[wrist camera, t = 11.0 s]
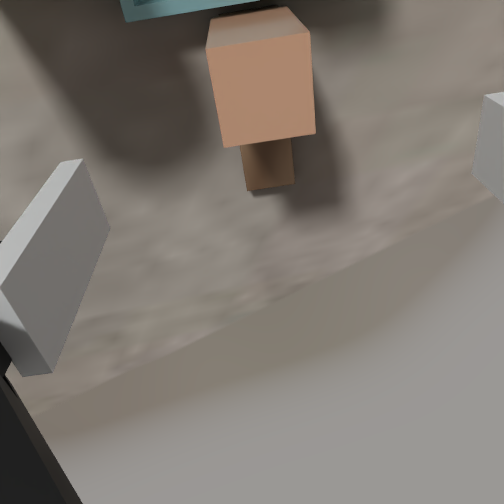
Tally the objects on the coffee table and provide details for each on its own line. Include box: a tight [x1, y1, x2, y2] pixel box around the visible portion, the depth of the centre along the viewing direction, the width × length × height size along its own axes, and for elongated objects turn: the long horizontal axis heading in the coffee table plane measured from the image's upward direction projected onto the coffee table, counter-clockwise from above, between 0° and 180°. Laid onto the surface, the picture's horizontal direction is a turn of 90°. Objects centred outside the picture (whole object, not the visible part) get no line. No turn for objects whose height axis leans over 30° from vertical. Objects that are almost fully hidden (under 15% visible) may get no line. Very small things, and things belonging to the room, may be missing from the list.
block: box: [206, 6, 316, 148], centre depth 26 cm, size 5×5×10 cm
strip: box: [219, 5, 295, 191], centre depth 33 cm, size 4×13×1 cm, turn 8°
